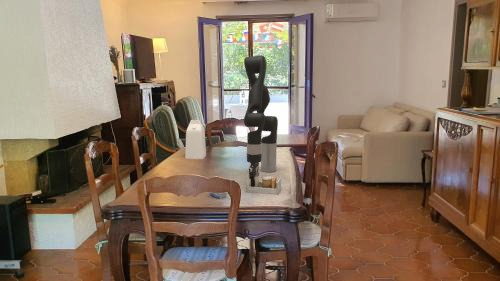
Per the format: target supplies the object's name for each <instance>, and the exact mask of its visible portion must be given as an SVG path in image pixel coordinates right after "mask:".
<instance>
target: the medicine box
mask: <svg viewBox="0 0 500 281" xmlns="http://www.w3.org/2000/svg"><path fill="white" fill-rule="evenodd" d="M209 196H211V197H214V198H216V199H219V200H221V199H225V198H226V197H227V193H210V192H209Z"/></svg>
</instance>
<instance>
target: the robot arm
mask: <svg viewBox="0 0 500 281" xmlns="http://www.w3.org/2000/svg"><path fill="white" fill-rule="evenodd" d="M266 60H267V59H266V57H265V56H264V55H262V54H261V55H251V56H250V55H249V56H246V57H245V58H244V60H243V61H244V62H243V63H244V70H245V72H246V75H247V78H248V82H249V85H250V89H249V92H248V96H247V98H248V100H247V101H248V103H247V108H246V110H245V115H244V117H243V124H244V126H245V127H248V128H257V129H256V130H253V131H249V132H248V133H247V137H246V138H247V140H246V141H247V142H246V144H247V145H246V162H248V163H250V165H249V168H248V180H249V179H251V187H255V175H256V174H257V173H259V174H260V172H259V170H260V171H261V172H263V173H264V172H265V173H274V172H277V144H278V141H277V140H278V139H277V138H278V127H279V125H278V124H279V120H278V117H277V116H275V115H265V111H266V109H267V108H268V106H269V104H270V102H271V96H270V92H269V89H268V88H267V86H266V85H265V80H266V74H267V73H266V72H267V61H266ZM256 74H258V76H257V75H256ZM262 132H270V134H268V135H266V136H263V137H262V135H263V133H262ZM252 175H253V177H252Z"/></svg>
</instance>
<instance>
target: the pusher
mask: <svg viewBox="0 0 500 281" xmlns="http://www.w3.org/2000/svg"><path fill="white" fill-rule="evenodd" d="M277 178H278V177H277V176H274V177H272V188H273V189H276V183H277V181H278V179H277Z"/></svg>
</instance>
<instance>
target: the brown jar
mask: <svg viewBox="0 0 500 281" xmlns="http://www.w3.org/2000/svg"><path fill="white" fill-rule="evenodd" d="M272 180H273V176H271V175H262V176H261V182H262V187H261V188H272Z"/></svg>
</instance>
